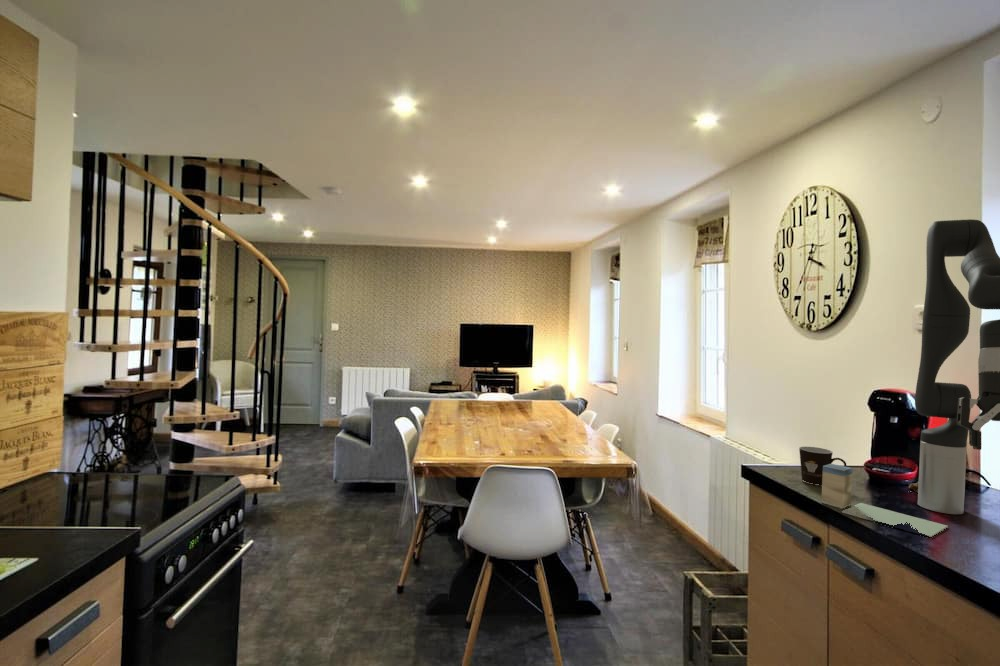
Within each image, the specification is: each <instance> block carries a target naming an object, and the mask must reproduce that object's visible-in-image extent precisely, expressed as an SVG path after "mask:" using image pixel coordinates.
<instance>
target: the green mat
mask: <svg viewBox="0 0 1000 666" xmlns="http://www.w3.org/2000/svg"><path fill="white" fill-rule="evenodd" d="M852 506H853V507H854V506H855V507H856V508H857V507H858V508H857V509H859V512H860V514H861V515H862V514H863V515H864V514H865V515H866V516H868V517H871V518H873V520H875V521H878V522H882V523H886V524H889V525H893V526H894V525H897V524H901V523H902V524H903V525H904V524H905V523H906V522H907V523H908V524H909V523H910V526H911V525H912V526H911V528H912V527H913V529H915V528H916V529H917V530H918V532H919V533H922V534H925V535H927V536H929V537H932V536H934V535H936V534H937V535H939V534H940V533H942V532H944V531H945V530H947V529H948V527H949V525H947V524H944V523H943V524H942V523H939V522H935V521H932V520H931V521H930V520H928V519H925V518H921V517H915V516H911V515H908V514H906V513H905V514H904V513H901V512H897V511H894V510H890V509H886V508H882V507H878V506H875V505H871V504H867V503H863V502H860V503H857V504H855V505H851V506H850V507H852ZM855 507H854V508H855ZM907 523H906V524H907ZM946 528H947V529H946ZM916 529H915V530H916ZM944 529H945V530H944ZM941 531H942V532H941ZM939 532H940V533H939ZM938 533H939V534H938ZM937 535H936V536H937ZM934 537H935V536H934ZM932 538H933V537H932Z"/></svg>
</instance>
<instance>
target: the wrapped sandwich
mask: <svg viewBox="0 0 1000 666" xmlns="http://www.w3.org/2000/svg"><path fill="white" fill-rule="evenodd" d="M918 486H919V481H917V482H916V483H913V482H911V483H909V484H908V488H909V489H912V490H913V492H917V493H918ZM909 491H910V492H912V491H911V490H909Z"/></svg>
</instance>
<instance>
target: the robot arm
mask: <svg viewBox="0 0 1000 666" xmlns="http://www.w3.org/2000/svg"><path fill="white" fill-rule="evenodd" d="M926 235H927V236H926V247H925V248H926V284H925V294H924V295H925V296H924V302H923V303H924V305H923V313H922V324H921V351H920V361H919V368H918V373H917V374H918V375H917V381H916V386H915V393H914V406H915V410H916V412H917V414H918V415H920V416H923V417H929V418H930V417H932V418H942V419H943V418H945V419H948V421H946V422H945V423H943V424H941V425H939V426H936V427H930V428H925V429H923V430H922V431H921V432H920V441H919V442H920V444H919V445H920V446H919V468H918V469H919V470H918V482H919V486H918V494H917V505H918V506H920V507H921V508H924V509H927V510H930V511H933V512H937V513H943V514H948V515H949V514H950V515H963V514H964V513H965V512H964V509H965V506H964V505H965V491H966V469H967V447H968V446H967V444H969V446H970V447H972V448H973V450H977V451H981V450H982V431H980V429H981V428H982V427H983V426H985V424H987V423H989V422H990V421H993V422H1000V319H995V320H987V321H984V322H982V323H981V324H980V327H979V355H978V359H977V360H978V361H977V363H978V368H977V369H978V371H977V372H978V373H977V374H978V377H977V378H978V396H977V398H972V393H971V390H970V388H969V387H968V386H967V385H966V384H962V383H956V382H955V383H954V382H953V383H952V382H939V381H938V382H936V379H937V376H938V374H939V371H940V368H941V367H942V365H943V364H944V362H945V361H946V360H947V359H948V358H949V357H950V356H951V355H952V354H953V353H954V351H956V350H957V349H958V348H959V347H960V346H961V344H962V343H963V342H964V341H965V340H966V338H967V336H968V334H969V332H970V331H969V330H970V322H971V320H970V319H971V307H970V305H971V306H973V307H975V308H977V309H981V310H1000V256H999V255H998V253H997V251H996V247H995V244H994V242H993V239H992V237H991V236H992V235H991V234H990V232H989V229H988V227H987V226H986V224H985V223H984V222H983V221H981V220H979V219H970V218H969V219H954V220H953V219H952V220H950V219H949V220H938V221H937V220H936V221H933V222H932V223H931V224H930V226H929V228H928V230H927V234H926ZM946 257H947V258H948V257H950V258H952V257H953V258H955V257H963V259H962V261H961V263H960V271H961V273H962V276H963V277H964V279H965V280H966V281H967V282H968V286H969V287H968V292H967V298H968V299H966V298H965V297H964V295H963V294H962V292H961V291H960V290H959V288H957V287H956V285H955V284H954V282H953V281H952V279H951V277H950V275H949V274H948V270H947V266H946V262H945V261H946V260H945V259H946ZM967 300H968V301H967ZM968 302H969V303H970V305H969V303H968ZM975 405H976V406H977V408H979V410H980V411H981V412H980V413H979V414H978V415H977V416H975V418H974V419H973V420H972V421H971V422H970V416H971V409H973V407H974V406H975Z"/></svg>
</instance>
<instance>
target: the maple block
mask: <svg viewBox="0 0 1000 666" xmlns="http://www.w3.org/2000/svg"><path fill="white" fill-rule="evenodd" d="M852 481H853V467H849V466H847V467H845V466H844V465H841V464H840V465H839V464H834V463H831V464H828V465H825V466H823V475H822V486H821V498H820V499H821V500H823V501H827V502H829V503H833V504H836V505H839V506H842V507H843V506H846V505H849V504H852Z"/></svg>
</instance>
